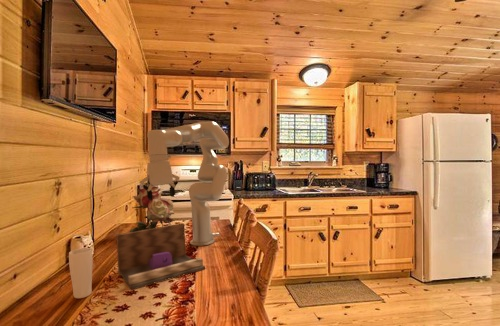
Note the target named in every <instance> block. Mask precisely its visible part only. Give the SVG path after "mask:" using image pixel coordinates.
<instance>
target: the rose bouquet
mask: <svg viewBox="0 0 500 326" xmlns="http://www.w3.org/2000/svg"><path fill="white" fill-rule="evenodd" d="M146 186H148V184H147V185H146ZM161 189H162V188H161V187H159V185H158V186H153V187H152V189H151V191H152V199H153V200H149V199H148V198H147V191H146V190H145V189H144V188H143V187H140V188H138V189H136V191H137V193H138V195H132V198H133V199H134V200H135V201H136V202H137V203H138V206H132V208H131V209H135V211H139V209H142V210H143V209H147V210H146V215H145V216H143V217H144V219H146V223H145V222H144V221H143V222H142V221H136V226H134V227H133V228H132V229H130V230H129V232H135V231H141V230H146V229H152V228H157V226H158V223H159V222H160V224H161V227H164V224H165V223H168V226H169V225H172V224H171V223H173V222H174V220H173V218H172V217H171V216H172V215H175V212H174V211H173V209H174V201H172V200H171V199H169V198H165V197H162V193H160V191H161ZM129 232H128V233H129Z"/></svg>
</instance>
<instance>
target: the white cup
mask: <svg viewBox="0 0 500 326" xmlns="http://www.w3.org/2000/svg"><path fill="white" fill-rule="evenodd" d="M93 261H94V260H93V250H92V248H91V247H82V248H77V249H72V250H71V251H69V252H68V265H69V266H68V267H69V274H70V279H71V284H72V285H71V286H72V294H73V298H75V299H84V298H87V297H89V296H90V295H91V294H92V292H93V287H92V285H93V284H92V283H93V281H92V280H93V265H94V264H93Z"/></svg>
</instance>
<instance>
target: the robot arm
mask: <svg viewBox="0 0 500 326" xmlns="http://www.w3.org/2000/svg"><path fill="white" fill-rule="evenodd" d="M197 140H199V145H200V149H201V152H202V161H201V163H200V166H199V169H198V173H197V179H198V181H199V182H194V183H192V184H191V185H190V186H189V188H188V195H189V199H190V204H191V206H190V207H191V222H192V223H191V224H192V239H191V240H190V243H189V244H190V245H191V246H194V247H195V246H199V247H202V246H209V245H212V244H214V243H215V237H220V235H221V234H220V232H212V225H211V224H212V221H211V219H212V218H211V217H212V216H211V207H210V205H209V203H208V202H216V201H219V200H220V199H221V197H222V195H223V192H224V188H225V186H226V181H227V177H228V172H227V167H225V166H224V165H222V164H218V163H219V157H218V155H217V154H216V153H215V151H216V150H225V149H226V148H228V147H229V145H230V139H229V137H228V135H227V133H226V132H225V131H224V130H223V129H222V127H221V126H220V125H219V124H218V123H217V122H215V121H200V122H195V123H191V124H184V125H181V126H175V127H171V128H166V129H152V130H151V129H150V130H148V131H147V143H148V144H147V145H148V146H147V147H148V157H149V162H147V165H146V166H147V167H146V176H145V177H144V178H143V179H141V180H139V184H140V186H141V188H144V189H145V190H146V191H147V198H148V199H149V200H153V199H152V191H151V189H152V187H153V186H158V187H159V186H165V185H168V186H170V187H169V196H170V197H173V198H175V195H176V190H175V188H176V186H177V185H178V184H179V180H180V176H177V175H176V174H173V171H172V165H171V163H170V161H169V159H171V155H170V154H169V153H168V148H169V147H176V146H179V145H181V144H184V143H185V144H186V143H191V142H194V141H197ZM214 150H215V151H214ZM168 154H169V155H168ZM173 180H174V181H173ZM146 184H147V185H148V186H147V185H146Z"/></svg>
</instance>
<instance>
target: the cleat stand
mask: <svg viewBox="0 0 500 326" xmlns="http://www.w3.org/2000/svg"><path fill="white" fill-rule="evenodd" d="M185 231H186V230H185V223H183V222H181V223H175V224H171V225H169V224H168V225H163V227H162V226H159V227H156V228H152V229H146V230H141V231H135V232H125V233H118V234H116V251H117V253H116V255H117V268H118V269H117V272H118V273H119V275H120V276H121V278H122V279H123V280H124V281H125V282H126V284H127V286H128V287H129V288H130V290H135V289H134V288H136V289H138V287H139V288H142V286H143V287H145V285H146V286H149V285H148V284H150V285H152V284H151V283H153V284H155V283H154V282H157V283H159V282H158V281H161V282H163V281H162V280H164V281H166V280H165V279H168V278H171V279H173V278H172V277H175V278H177V277H176V276H178V277H180V276H179V275H182V276H184V275H183V274H185V275H188V273H189V274H192V273H196V272H200V271H202V270H203V271H204V270H205V269H206V266H205V265H204V263H203V261H204V260H203V258H202V257H198V258H192V257H191V256H189V255H187V254H186V250H187V249H186V236H185V235H186V232H185ZM163 252H169V253H170V254H171V255H172V265H170V266H166V267H162V268H158V269H154V270H152V269H151V267H150V266H149V260H150V259H151V258H153V254H158V253H163ZM168 280H169V279H168Z"/></svg>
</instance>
